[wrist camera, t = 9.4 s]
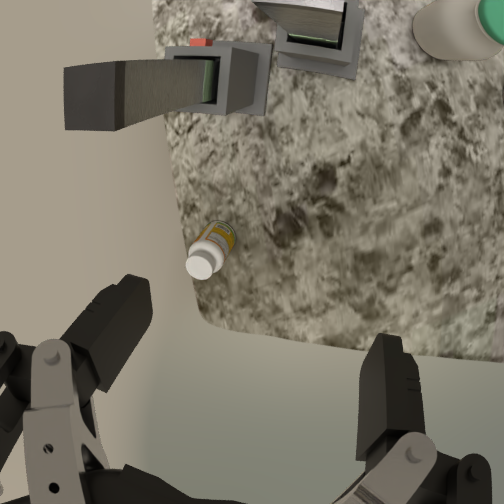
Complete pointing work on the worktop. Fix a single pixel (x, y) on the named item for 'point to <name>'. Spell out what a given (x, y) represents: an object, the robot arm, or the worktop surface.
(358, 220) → the worktop surface
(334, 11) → the column
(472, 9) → the milk bottle
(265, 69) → the stand
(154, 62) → the column
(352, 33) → the stand
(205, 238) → the supplement bottle
